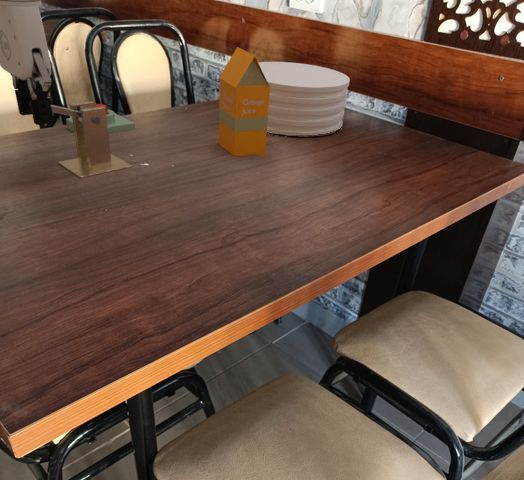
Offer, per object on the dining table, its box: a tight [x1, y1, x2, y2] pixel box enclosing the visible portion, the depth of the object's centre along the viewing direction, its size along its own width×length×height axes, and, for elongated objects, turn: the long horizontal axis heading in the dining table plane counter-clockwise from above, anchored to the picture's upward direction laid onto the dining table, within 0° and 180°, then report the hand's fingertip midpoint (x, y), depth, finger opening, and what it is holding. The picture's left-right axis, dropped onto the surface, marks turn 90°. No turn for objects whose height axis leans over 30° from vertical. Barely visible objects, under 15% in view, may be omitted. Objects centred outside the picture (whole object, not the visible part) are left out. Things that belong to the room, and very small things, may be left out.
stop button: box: [94, 103, 108, 115], centre depth 115 cm, size 4×4×2 cm
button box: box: [65, 108, 136, 134], centre depth 117 cm, size 12×10×4 cm
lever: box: [24, 97, 88, 122], centre depth 90 cm, size 12×5×2 cm, turn 133°
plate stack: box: [257, 61, 351, 135], centre depth 132 cm, size 28×28×12 cm
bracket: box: [57, 100, 133, 179], centre depth 96 cm, size 11×9×12 cm
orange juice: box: [218, 46, 270, 157], centre depth 108 cm, size 8×9×20 cm
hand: (36, 117), depth 87 cm, fingers closed on lever, 5 cm apart
